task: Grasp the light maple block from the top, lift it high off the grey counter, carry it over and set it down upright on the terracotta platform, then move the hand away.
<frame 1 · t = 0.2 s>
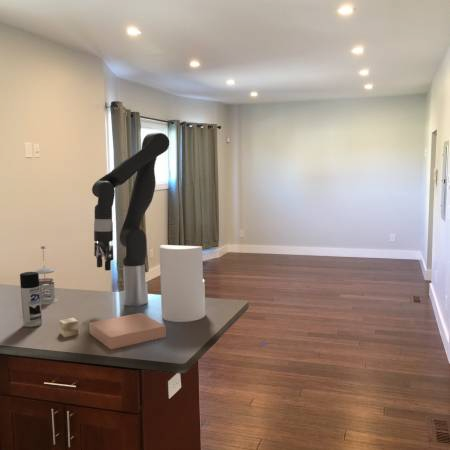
hand: (103, 268, 209), 17 cm above the worktop, tool pointing down, fingers open, 8 cm apart
spray can: (32, 325, 191), on the worktop
cylinder: (183, 315, 201), on the worktop
maple block: (69, 334, 180), on the worktop
french press: (44, 301, 226), on the worktop
terracotta platform: (127, 335, 178), on the worktop
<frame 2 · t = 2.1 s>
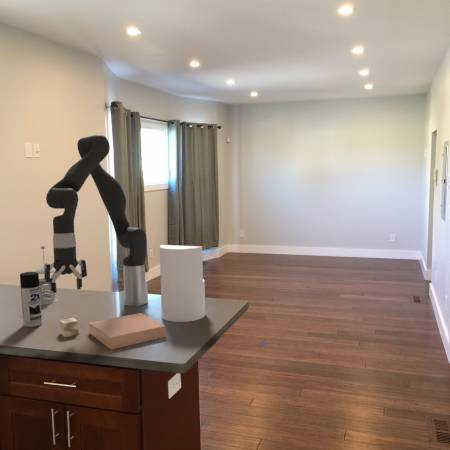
hand: (66, 290, 178), 16 cm above the worktop, tool pointing down, fingers open, 8 cm apart
nothing on the worktop moved.
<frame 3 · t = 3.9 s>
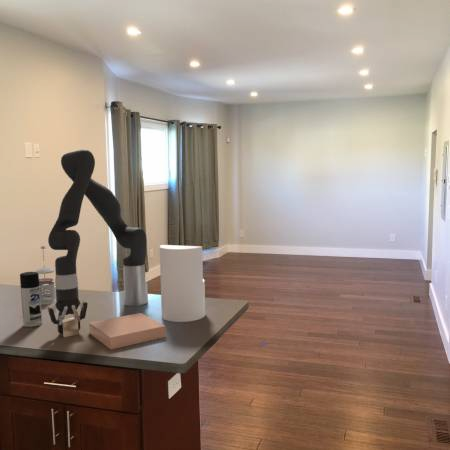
hand: (69, 332, 180), 0 cm above the worktop, tool pointing down, fingers closed on maple block, 5 cm apart
maple block: (69, 333, 180), on the worktop, touching gripper
everything else where it was.
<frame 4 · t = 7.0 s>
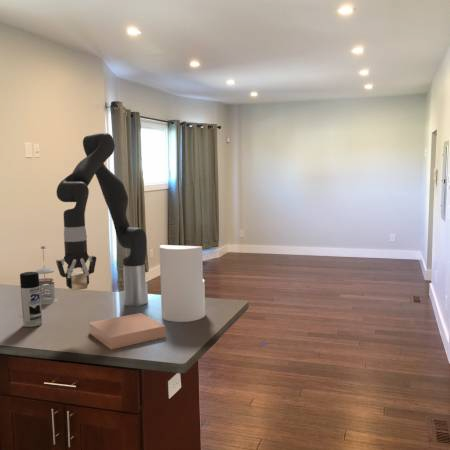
hand: (77, 286, 178), 17 cm above the worktop, tool pointing down, fingers closed on maple block, 5 cm apart
maple block: (78, 288, 178), point 17 cm above the worktop, touching gripper
everything else where it was.
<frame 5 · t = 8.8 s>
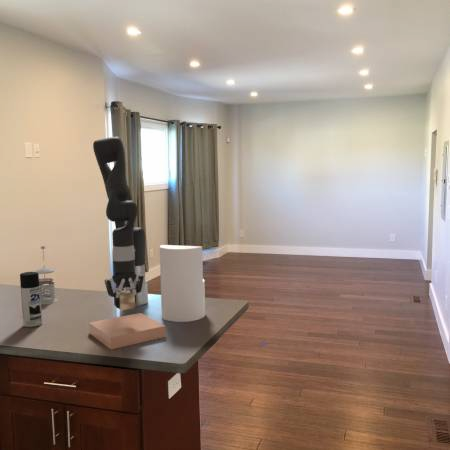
hand: (125, 306, 176), 10 cm above the worktop, tool pointing down, fingers closed on maple block, 5 cm apart
maple block: (125, 307, 177), point 10 cm above the worktop, touching gripper
everything else where it was.
when the fingers open (6 cm above the worktop, at t = 10.2 s): maple block drops 1 cm, resting on terracotta platform.
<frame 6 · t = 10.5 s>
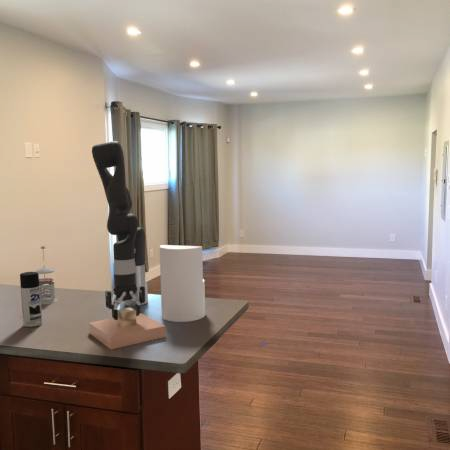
hand: (126, 317, 177), 6 cm above the worktop, tool pointing down, fingers open, 7 cm apart
maple block: (126, 324, 177), point 4 cm above the worktop, touching terracotta platform
everything else where it was.
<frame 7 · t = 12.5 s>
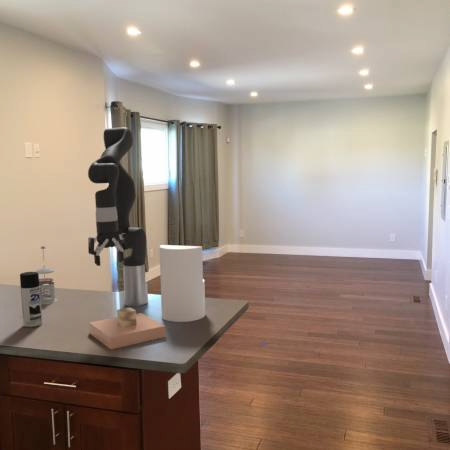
hand: (109, 263, 183), 24 cm above the worktop, tool pointing down, fingers open, 8 cm apart
nothing on the worktop moved.
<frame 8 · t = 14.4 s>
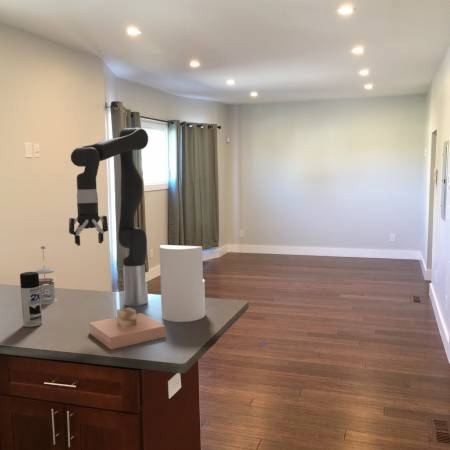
hand: (89, 244, 191), 30 cm above the worktop, tool pointing down, fingers open, 8 cm apart
nothing on the worktop moved.
at the end: maple block inside the target area on the terracotta platform (0.1 cm from its centre), point 4.0 cm above the terracotta platform's base; maple block tilted 0°; the gripper is holding nothing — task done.
